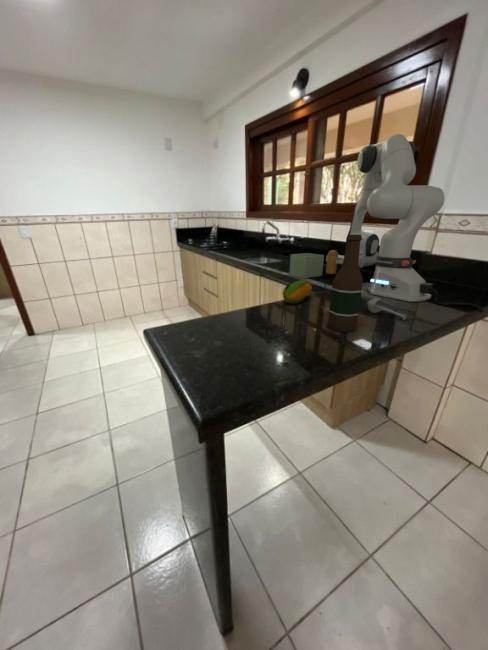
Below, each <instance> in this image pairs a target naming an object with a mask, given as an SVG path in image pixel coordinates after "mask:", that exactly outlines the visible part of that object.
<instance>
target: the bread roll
mask: <svg viewBox="0 0 488 650" xmlns="http://www.w3.org/2000/svg"><path fill="white" fill-rule="evenodd" d="M327 255H328V256H327ZM327 255H326V258H327V262H326V266H325V267H326V268H325V274H327V275H337V267H338V264H336V263H334V260H338V255H339V252H338V251H337V250H335V249H331V250H329V251H328V253H327Z"/></svg>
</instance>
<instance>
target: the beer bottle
mask: <svg viewBox="0 0 488 650" xmlns="http://www.w3.org/2000/svg"><path fill="white" fill-rule="evenodd" d="M347 235H348V234H347ZM347 235H346V238H345V241H346V240H347V244H345V250H344V255H343V256H344V260H343V264H341V268H340V269H339V270H338V271H337V272H336V274H335V276H334V279H333V281H332V285H331V294H330V300H329V301H330V303H329V311H328V319H327V327H328V328H329V329H331V330H333V331H335V332H342V333H350V332H354V331H356V328H357V324H358V319H359V318H358V317H359V311H360V305H361V299H362V293H363V286H364V285H363V284H364V279H363V274H362V272H361V270H360V268H359V263H358V262H359V251H360V241H361V240H362V236H361V235H348V236H347Z"/></svg>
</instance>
